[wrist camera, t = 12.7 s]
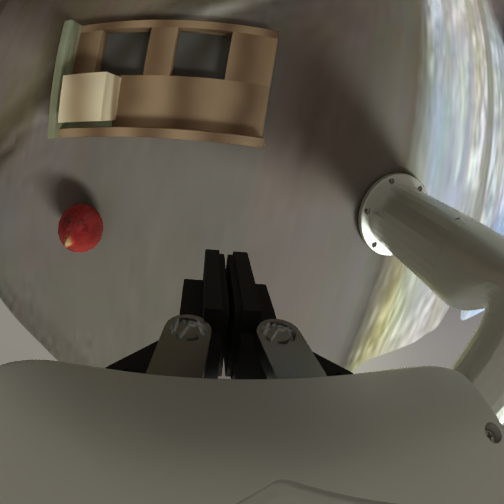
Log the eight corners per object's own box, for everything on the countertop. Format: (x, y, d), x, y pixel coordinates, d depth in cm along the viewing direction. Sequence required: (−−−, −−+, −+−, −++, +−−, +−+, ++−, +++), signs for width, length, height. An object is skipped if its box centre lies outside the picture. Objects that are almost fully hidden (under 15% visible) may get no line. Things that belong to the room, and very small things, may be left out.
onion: (69, 198, 33) (40, 218, 26) (107, 194, 34) (83, 215, 27) (76, 239, 35) (52, 266, 28) (113, 237, 36) (93, 265, 29)
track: (274, 36, 28) (285, 24, 23) (257, 144, 34) (265, 149, 29) (83, 31, 24) (64, 21, 19) (68, 134, 29) (47, 138, 24)
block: (121, 77, 26) (106, 71, 21) (115, 120, 28) (100, 121, 23) (82, 79, 25) (63, 75, 20) (77, 120, 27) (57, 122, 22)
